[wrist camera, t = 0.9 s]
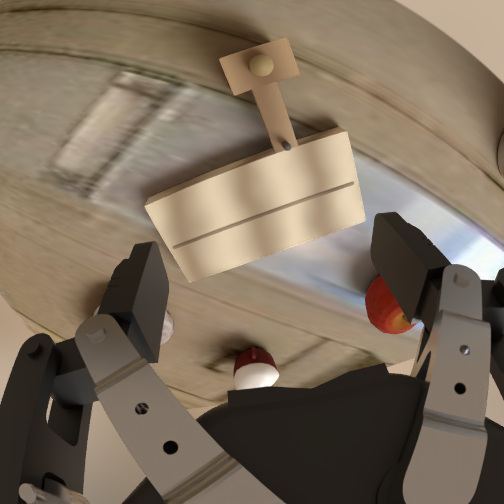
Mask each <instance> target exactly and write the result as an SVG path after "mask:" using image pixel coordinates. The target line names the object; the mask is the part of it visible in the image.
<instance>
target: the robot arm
mask: <svg viewBox="0 0 504 504" xmlns="http://www.w3.org/2000/svg"><path fill="white" fill-rule="evenodd" d="M498 166H499V171H500V173H501V175H502V176H503V178H504V133H503V135H502V137H501V140H500V143H499V148H498ZM371 259H372V262H373V264H374V266H375V268H376V269H377V271H378V272H379V274H380V276H381V277H382V279H383V280H384V282H385V283H386V285H387V287H388V288H389V290H390V292H391V293H392V295H393V296H394V298H395V300H396V301H397V303H398V305H399V306H400V308H401V310H402V311H403V313H404V315H405V316H406V318H407V320H408V322H409V323H410V325H412V324H416V323H419V322H423V324H424V327H423V330H422V333H421V337H420V341H419V346H418V350H417V354H416V358H415V362H414V365H413V369H412V372H411V375H410V376H408V375H403V374H394V373H389V372H388V370H387V367H386V365H385V363H382V364H378V365H375V366H371V367H367V368H362V369H358V370H354V371H349V372H347V373H345V374H343V375H341V376H339V377H337V378H335V379H332V380H330V381H328V382H326V383H324V384H321V385H319V386H317V387H314V388H287V387H272V386H266V387H258V388H250V389H241V390H232V391H228V402H227V403H224V404H221V405H219V406H217V407H215V408H213V409H211V410H209V411H207V412H206V413H204V414H203V415H201V416H200V417H199V418H197V419H196V420H195V419H194V418H193V417H192V416H191V414H190V413H189V412H188V411H187V410H186V409H185V408H184V406H183V405H182V404H181V403H180V402H179V401H178V399H177V398H176V397H175V396H174V395H173V393H172V392H171V391H170V390H169V389H168V387H167V386H166V385H165V384H164V382H163V381H162V380H161V379H160V377H159V376H158V375H157V374H156V372H155V371H154V370H153V368H152V367H151V366H150V365H149V363H158V358H159V351H160V344H161V337H162V331H163V324H164V318H165V312H166V306H167V300H168V294H169V282H168V277H167V273H166V270H165V267H164V264H163V261H162V257H161V254H160V251H159V247H158V245H157V243H156V242H155V241H152V242H145V243H139V244H135V245H134V247H133V250H132V252H131V255H130V257H129V259H124V260H123V261H122V262H121V263H120V264H119V265H118V266H117V267H116V268H115V270H114V272H113V274H112V277H111V280H110V282H109V284H108V288H107V289H106V292H105V294H104V297H103V299H102V302H101V304H100V307H99V310H98V312H97V315H95V316H92V317H90V318H88V319H87V320H85V321H84V322H83V323H82V324H81V325H80V326H79V327H78V329H77V331H76V333H75V337H74V338H71V339H68V340H65V341H62V342H59V343H56V344H55V343H54V341H53V340H52V339H51V337H50V336H49V335H47V334H44V333H40V334H36V335H34V336H32V337H30V338H29V339H28V340H26V342H24V344H23V345H22V347H21V348H20V351H19V353H18V356H17V358H16V360H15V363H14V366H13V368H12V371H11V374H10V377H9V380H8V383H7V386H6V389H5V391H4V395H3V398H2V401H1V404H0V504H90V503H89V501H88V500H87V499H86V498H85V497H84V496H83V483H84V470H85V458H86V449H87V440H88V431H89V424H90V417H91V410H92V404H93V402H94V401H98V400H99V401H100V403H101V404H102V406H103V408H104V410H105V412H106V414H107V415H108V417H109V419H110V421H111V422H112V424H113V426H114V427H115V429H116V431H117V432H118V434H119V436H120V437H121V439H122V441H123V442H124V444H125V445H126V447H127V448H128V450H129V452H130V453H131V455H132V456H133V457H134V459H135V460H136V462H137V463H138V465H139V466H140V468H141V469H142V471H143V472H144V474H145V475H146V477H145V479H144V480H143V481H142V482H141V483H140V484H139V485H138V486H137V487H136V489H135V490H134V491H133V492H132V493H131V494H130V495H129V496H128V497H127V499H125V501H124V502H123V503H122V504H504V427H503V426H501V425H499V424H497V423H495V422H494V421H492V420H490V419H489V418H487V417H485V413H486V405H487V396H488V385H489V373H491V375H492V377H493V379H494V381H495V383H496V385H497V387H498V389H499V391H500V393H501V395H502V397H503V400H504V268H502V269H500V270H499V272H498V274H497V276H496V279H495V281H494V280H480V278H479V276H478V275H477V273H476V272H474V271H473V270H472V269H470V268H468V267H466V266H463V265H459V264H451V263H450V262H449V261H448V259H447V258H446V257H445V256H444V255H443V254H442V253H441V252H440V251H439V249H438V248H437V247H436V246H435V245H433V243H432V242H431V241H430V240H429V239H427V237H426V236H425V234H424V233H423V232H422V231H421V230H420V229H418V228H416V227H415V226H413V225H411V224H409V223H407V222H406V221H405V220H404V219H403V218H402V217H401V216H400V215H399V214H398V213H397V212H388V213H378V214H376V216H375V219H374V227H373V235H372V243H371ZM50 397H51V398H52V399H53V402H52V406H51V410H50V415H49V420H48V424H47V421H46V412H47V408H48V404H49V399H50Z"/></svg>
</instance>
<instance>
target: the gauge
mask: <svg viewBox="0 0 504 504" xmlns="http://www.w3.org/2000/svg"><path fill="white" fill-rule="evenodd" d="M219 61H220V64H221V66H222V69H223V71H224V74H225V76H226V78H227V81H228V83H229V86H230V88H231V91H232V93H233V95H234V96H235V95H238V94H241V93H243V92H246V91H249V90H251V91H252V94H253V96H254V99H255V101H256V104H257V107H258V109H259V112H260V115H261V117H262V120H263V123H264V125H265V128H266V131H267V134H268V136H269V139H270V142H271V145H272V147H273V150H274V151H275V153H279V152H282V151H285V150H286V151H289V150H290V149H291V148H294V147H297V146H298V144H297V140H296V137H295V134H294V131H293V128H292V125H291V122H290V119H289V116H288V113H287V111H286V108H285V105H284V102H283V99H282V96H281V94H280V91H279V88H278V85H277V83H276V82H277V81H280V80H283V79H286V78H290V77H293V76H297V75H300V72H299V69H298V66H297V63H296V61H295V58H294V55H293V52H292V50H291V47H290V44H289V42H288V39H287V37H286V38H283V39H279V40H275V41H272V42H268V43H265V44H261V45H258V46H255V47H252V48H249V49H246V50H243V51H240V52H237V53H234V54H231V55H228V56H225V57H223V58H220V59H219Z"/></svg>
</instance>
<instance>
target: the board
mask: <svg viewBox="0 0 504 504" xmlns="http://www.w3.org/2000/svg"><path fill="white" fill-rule="evenodd" d="M297 144H298V146H297V147H294V148H291V149H290V150H289V151H286V150H285V151H282V152H279V153H275V151H274V150H273V148H271V149H268V150H266V151H263V152H260V153H257V154H254V155H252V156H249V157H246V158H244V159H241V160H238V161H236V162H233V163H230V164H228V165H225V166H223V167H220V168H218V169H215V170H213V171H210V172H208V173H205V174H203V175H200V176H198V177H195V178H193V179H191V180H188V181H186V182H183V183H181V184H179V185H176V186H174V187H172V188H169V189H167V190H165V191H163V192H160V193H158V194H156V195H154V196H151V197H149V198H148V200H147V202H146V204H145V206H144V207H145V209H146V211H147V212H148V214H149V216H150V218H151V219H152V221H153V223H154V225H155V226H156V228H157V230H158V231H159V233H160V235H161V237H162V238H163V240H164V242H165V243H166V245H167V247H168V248H169V250H170V252H171V253H172V255H173V257H174V258H175V260H176V262H177V263H178V265H179V267H180V268H181V270H182V271H183V273H184V275H185V276H186V278H187V279H188V281H189V283H191V282H194V281H197V280H200V279H202V278H205V277H208V276H211V275H214V274H217V273H220V272H223V271H226V270H228V269H231V268H234V267H237V266H240V265H243V264H246V263H248V262H251V261H254V260H257V259H260V258H263V257H266V256H268V255H271V254H274V253H277V252H280V251H283V250H286V249H288V248H291V247H294V246H297V245H300V244H303V243H305V242H308V241H311V240H314V239H317V238H319V237H322V236H325V235H328V234H331V233H334V232H336V231H339V230H342V229H345V228H348V227H350V226H353V225H356V224H359V223H362V222H364V221H366V219H365V213H364V208H363V202H362V197H361V192H360V187H359V182H358V177H357V172H356V167H355V163H354V159H353V154H352V150H351V146H350V142H349V137H348V133H347V131H346V130H344V129H343V128H341V127H336V128H333V129H330V130H326V131H323V132H320V133H317V134H313V135H310V136H307V137H304V138H301V139H298V140H297Z"/></svg>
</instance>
